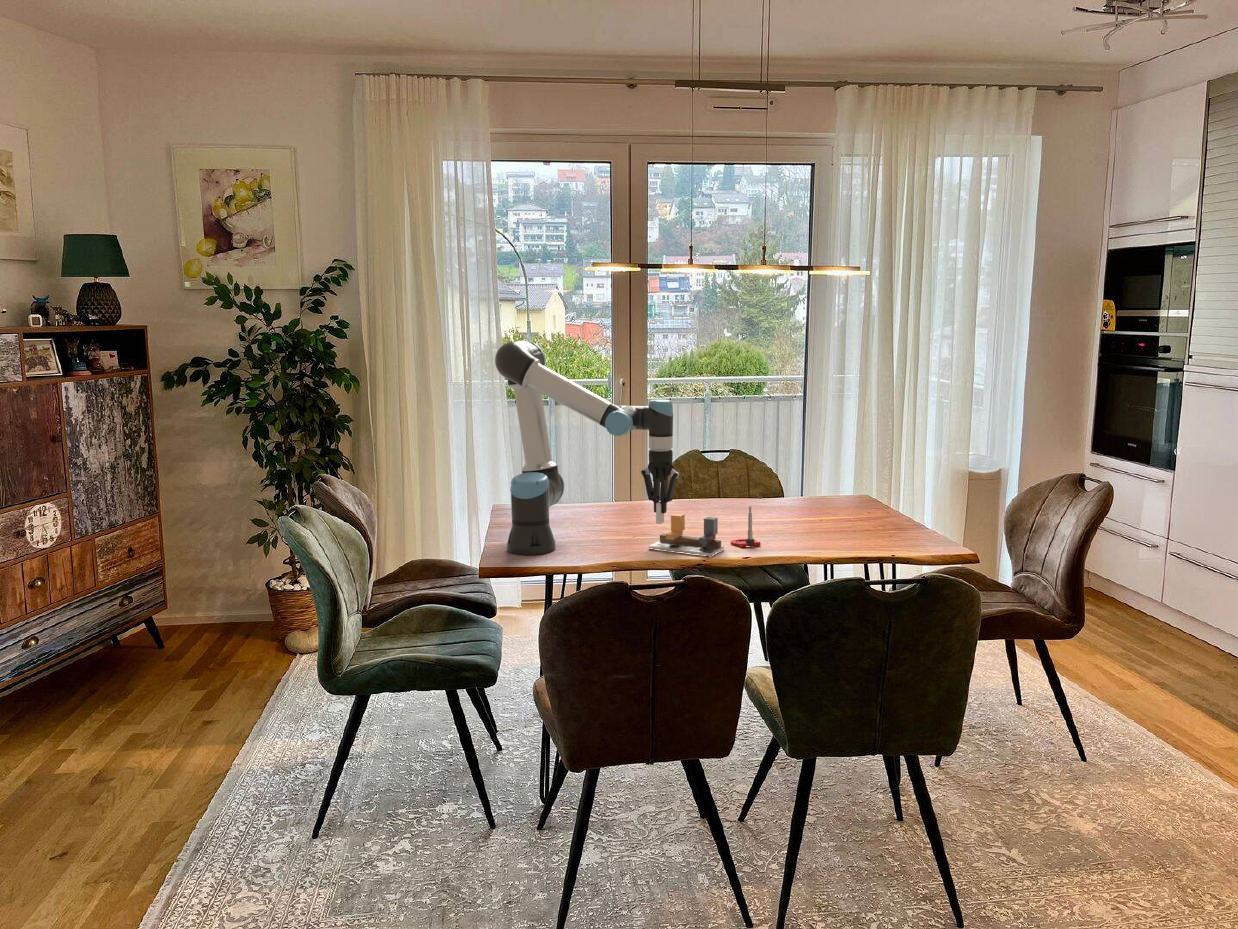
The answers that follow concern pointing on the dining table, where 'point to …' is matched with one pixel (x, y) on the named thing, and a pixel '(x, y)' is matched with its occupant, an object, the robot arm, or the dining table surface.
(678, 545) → the bolt plate
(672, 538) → the orange toy chair
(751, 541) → the tow hook
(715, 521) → the fixed leg
